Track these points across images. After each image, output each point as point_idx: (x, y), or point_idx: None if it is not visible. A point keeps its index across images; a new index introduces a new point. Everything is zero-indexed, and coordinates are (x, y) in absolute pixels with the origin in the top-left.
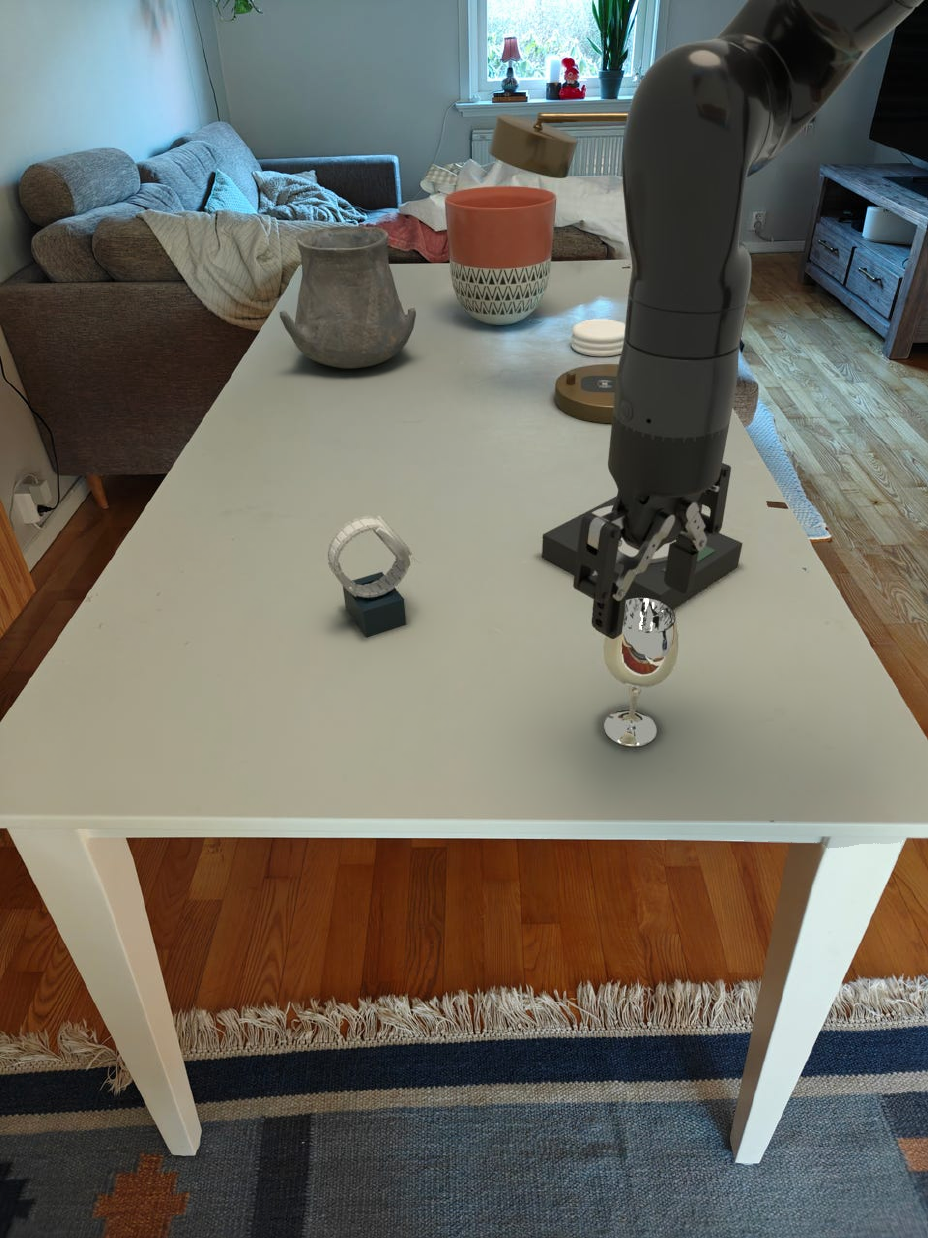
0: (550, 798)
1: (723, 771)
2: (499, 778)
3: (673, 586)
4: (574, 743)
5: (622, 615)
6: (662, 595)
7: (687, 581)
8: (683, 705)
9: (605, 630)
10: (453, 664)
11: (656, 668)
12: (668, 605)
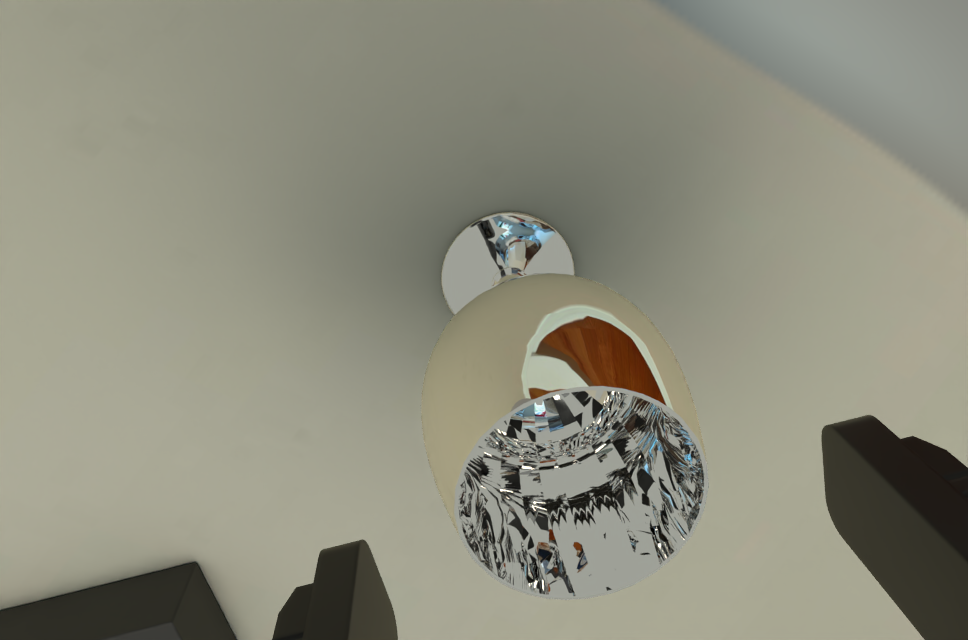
0: (818, 175)
1: (389, 29)
2: (866, 282)
3: (382, 592)
4: (656, 296)
5: (914, 486)
6: (164, 620)
7: (355, 586)
8: (330, 282)
9: (946, 454)
10: (718, 607)
11: (592, 293)
12: (146, 590)
